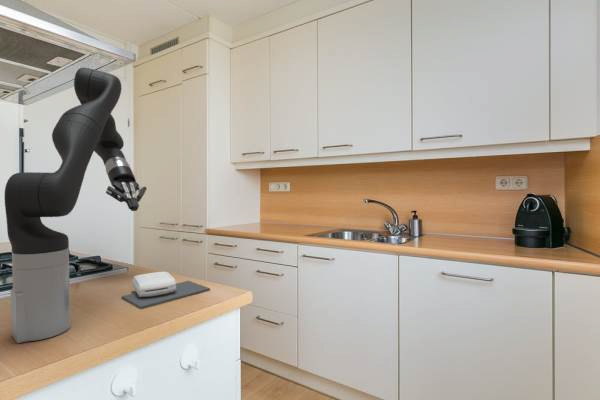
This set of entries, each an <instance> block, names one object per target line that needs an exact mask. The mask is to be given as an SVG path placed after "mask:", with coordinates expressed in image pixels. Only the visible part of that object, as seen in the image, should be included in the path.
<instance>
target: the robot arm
mask: <svg viewBox="0 0 600 400" xmlns="http://www.w3.org/2000/svg"><path fill="white" fill-rule="evenodd" d="M73 87H74V93H75V95H76V97H77V100H78V101H79V102H80V104H79V105H76V106H74V107H72V108H70V109H68V110H66V111H64V112H63V113H62V114H61V116H60V117H59V118H58V121H57V123H56V125H55V126H54V127H53V129H52V133H51V138H52V143H53V145H54V147H55V150H56V151H57V153H58V154H59V157H60V159H61V161H62V162H61V164H60V166H59V168H58V169H57V170H56V171H54V172H39V171H38V172H30V171H29V172H24V171H23V172H16V173H14V174H12V175H11V176H9V178H8V179H7V182H6V184H5V189H4V207H5V210H4V211H5V218H6V219H5V220H6V228H7V239H8V240H9V243H10V245H11V262H12V263H11V264H12V265H11V266H12V273H11V274H12V288H11V289H10V307H11V309H10V310H11V311H10V313H11V314H10V315H11V335H12V337H13V339H14V341H15V342H16V344H21V343H25V342H33V341H41V340H45V339H46V340H47V339H49V338H52V337H55V336H58V335H61V334H63V333H64V332H66V331H68V330H69V329H70V328H71V294H70V291H71V290H70V262H69V261H70V253H69V252H70V251H69V250H70V248H69V247H70V245H69V241H70V240H69V236H68V235H67V234H65V233H64V232H60V231H57V230H54V229H52V228H50V227H48V226H46V225H45V224H44V223H43V222H42V219H41V218H58V217H59V218H60V217H65V216H68V215H69V214H71V212H72V211H73V210H74V208H75V206H76V204H77V201H78V199H79V195H80V191H81V189H82V185H83V182H84V179H85V174H86V171H87V168H88V166H89V163H90V161H91V159H92V156H93V153H94V152H95V154H97V156H98V157H99V158H101V160H102V162H103V164H104V165H103V166H104V167H105V172H106V176H108V179H109V180H108V181H110V182H109V183H110V184H111V186H110V185H108V186H107V188H106V191H105V193H106V194H107V195H109V196H110V197H112V198H113V199H115V200H116V201H118V202H120V203H123V202H125V203H126V205H127V207H128V209H129V210H130V211H131V212H137V210H138V209H139V207H140V204H139V202H140V201H141V200H142V198H143V197H144V195H145V193H146V191H147V187H146V186H140V184H139V183H138V182H137V181H136V177H135V175H134V173H133V170H132V168H131V166H130V164H129V162H128V161H127V159H126V156H125V154H124V152H123V151H122V149H123V147H124V139H123V137H122V136H121V134H120V133H119V131H118V130H117V126H116V121H115V118H114V116H113V115H112V112H113V110H114V109H115V107H116V106H117V104H118V102H119V99H120V97H121V94H122V82H121V79H120V78H119V77H118V76H116V75H114V74H112V73H109V72H105V71H102V70H98V69H93V68H89V67H80V68H79V69H77V71H76V72H75V74H74V80H73ZM137 192H138V194H137Z"/></svg>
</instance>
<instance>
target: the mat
mask: <svg viewBox="0 0 600 400" xmlns="http://www.w3.org/2000/svg"><path fill="white" fill-rule="evenodd" d="M209 291H211V288H210V287H207V286H205V285H202V284H200V283H199V284H198V283H196V282H194V281H191V280H186V281H182V282H178V283H177V282H176V290H175V291H173V292H171V293H168V294H164V295H158V296H152V297H139V296H138V294H137V292H133V293H130V294H125V295H121V299H122V300H124V301H126V302H128V303H129V304H130V305H132V306H135V307H136V308H137V309H140V310H142V309H146V308H150V307H154V306H156V305H162V304H164V303H167V302H171V301H175V300H179V299H183V298H187V297H190V296H194V295H197V294H201V293H205V292H209Z"/></svg>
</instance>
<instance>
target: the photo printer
mask: <svg viewBox="0 0 600 400" xmlns="http://www.w3.org/2000/svg"><path fill="white" fill-rule="evenodd" d="M131 283H132V286H133V288H134V290H135V293H137V294H138V296H139V297H152V296H158V295H164V294H168V293H171V292H173V291H175V290H176V283H177V282H176V279H175V278H174V276H172V275H171V273H169V272H168V271H156V272H150V273H144V274H138V275H134V276H133V278H132V281H131Z"/></svg>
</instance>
